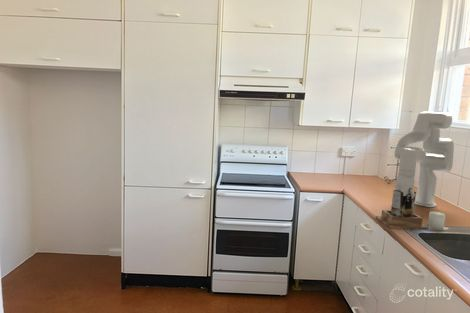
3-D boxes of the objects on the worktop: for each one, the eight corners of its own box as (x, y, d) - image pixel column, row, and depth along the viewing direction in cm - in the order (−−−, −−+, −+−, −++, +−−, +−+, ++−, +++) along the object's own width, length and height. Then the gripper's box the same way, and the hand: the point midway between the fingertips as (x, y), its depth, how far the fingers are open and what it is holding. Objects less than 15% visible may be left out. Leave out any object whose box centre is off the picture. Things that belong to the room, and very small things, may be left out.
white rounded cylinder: (424, 224, 179) (426, 211, 178) (438, 224, 179) (439, 211, 178) (433, 229, 172) (434, 215, 171) (446, 229, 172) (448, 216, 171)
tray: (375, 217, 186) (376, 208, 185) (410, 218, 187) (411, 209, 186) (390, 228, 170) (391, 218, 170) (427, 229, 171) (429, 219, 171)
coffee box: (399, 224, 174) (402, 192, 172) (389, 220, 180) (392, 189, 178) (413, 222, 177) (416, 191, 175) (402, 218, 183) (406, 188, 181)
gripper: (390, 169, 183) (387, 201, 186) (408, 176, 166) (404, 210, 169) (404, 169, 184) (401, 201, 186) (423, 176, 166) (419, 211, 169)
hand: (402, 205), depth 177 cm, fingers open, 9 cm apart
